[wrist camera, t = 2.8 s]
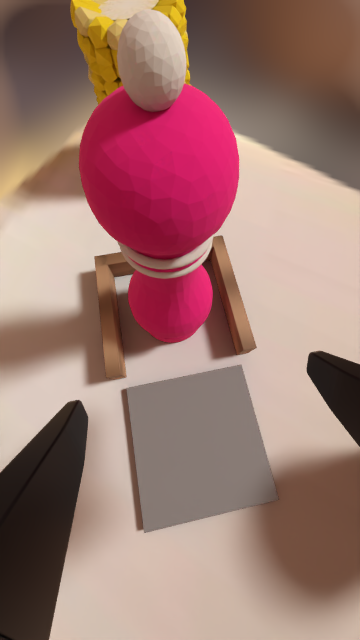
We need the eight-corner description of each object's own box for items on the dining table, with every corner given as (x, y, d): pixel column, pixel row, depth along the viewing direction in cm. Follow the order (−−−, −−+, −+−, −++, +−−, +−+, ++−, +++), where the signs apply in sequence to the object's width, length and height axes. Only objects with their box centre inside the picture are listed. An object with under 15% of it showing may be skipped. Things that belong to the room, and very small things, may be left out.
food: (173, 209, 30) (111, 184, 32) (214, 134, 31) (150, 114, 33) (134, 72, 15) (22, 40, 17) (214, -68, 16) (97, -83, 18)
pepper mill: (191, 358, 23) (258, 171, 4) (125, 331, 24) (-97, 64, 5) (216, 296, 25) (339, -27, 6) (155, 273, 26) (86, -76, 7)
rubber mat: (275, 496, 19) (279, 499, 19) (145, 528, 18) (144, 532, 18) (239, 365, 22) (241, 364, 22) (127, 388, 22) (126, 388, 21)
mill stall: (248, 352, 23) (256, 347, 21) (113, 379, 22) (106, 377, 20) (218, 249, 27) (222, 235, 24) (102, 269, 26) (94, 256, 23)
